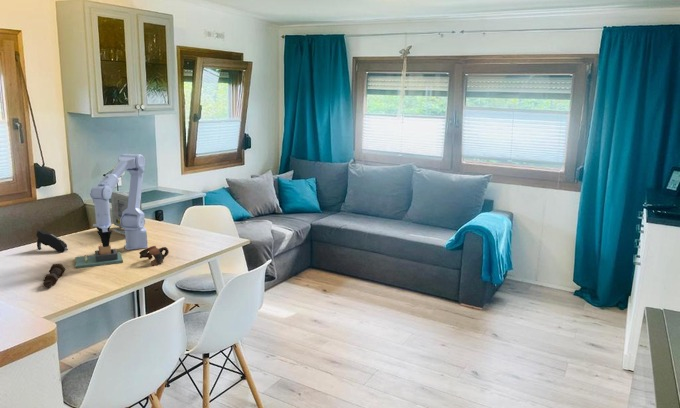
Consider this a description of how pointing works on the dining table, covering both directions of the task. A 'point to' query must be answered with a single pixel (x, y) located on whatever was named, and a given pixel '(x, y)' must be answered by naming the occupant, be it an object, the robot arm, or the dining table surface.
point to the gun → (50, 241)
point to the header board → (99, 259)
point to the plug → (104, 249)
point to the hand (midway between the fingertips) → (105, 244)
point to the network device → (119, 208)
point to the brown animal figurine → (154, 254)
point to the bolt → (53, 275)
